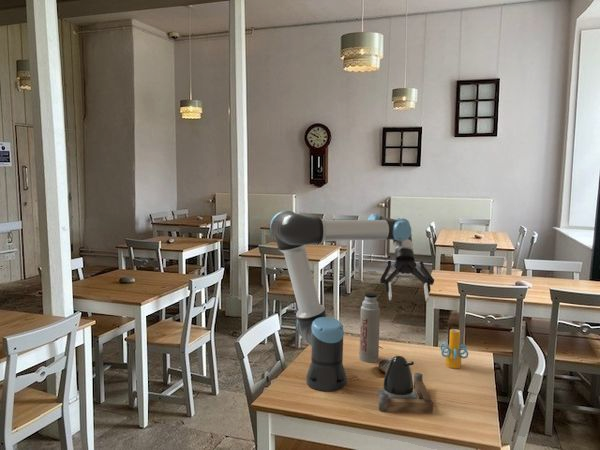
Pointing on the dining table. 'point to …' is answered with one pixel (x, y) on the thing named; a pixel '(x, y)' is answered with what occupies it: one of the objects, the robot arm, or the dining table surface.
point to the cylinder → (454, 350)
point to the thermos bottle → (369, 329)
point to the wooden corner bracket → (408, 400)
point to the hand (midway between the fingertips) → (408, 299)
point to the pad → (413, 396)
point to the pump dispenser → (398, 378)
